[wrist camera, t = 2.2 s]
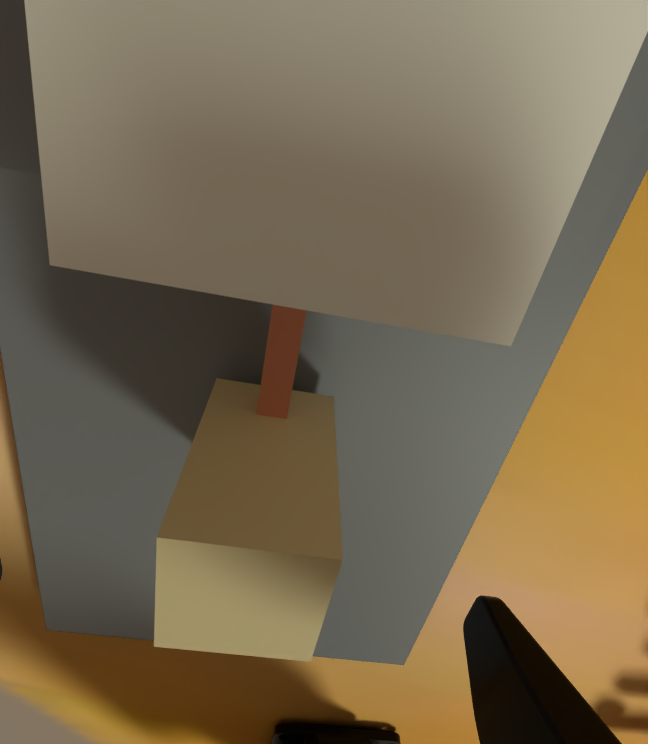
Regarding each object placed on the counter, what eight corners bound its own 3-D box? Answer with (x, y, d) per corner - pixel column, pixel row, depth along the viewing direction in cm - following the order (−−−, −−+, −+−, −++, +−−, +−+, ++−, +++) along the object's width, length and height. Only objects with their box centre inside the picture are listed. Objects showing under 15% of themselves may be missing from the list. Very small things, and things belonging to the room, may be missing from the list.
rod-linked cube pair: (362, 477, 14) (384, 668, 9) (159, 449, 13) (70, 638, 9) (540, -103, 8) (897, -443, 3) (176, -206, 7) (-108, -844, 2)
